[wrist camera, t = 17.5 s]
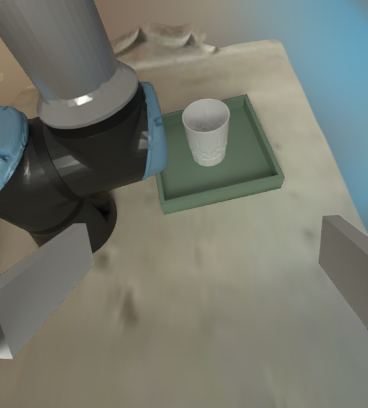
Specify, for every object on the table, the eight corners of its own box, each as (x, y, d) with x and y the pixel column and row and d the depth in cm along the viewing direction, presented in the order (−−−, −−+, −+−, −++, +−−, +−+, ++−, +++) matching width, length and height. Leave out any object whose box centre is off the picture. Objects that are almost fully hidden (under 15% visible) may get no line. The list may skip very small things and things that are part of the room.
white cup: (237, 152, 49) (240, 112, 41) (208, 176, 48) (204, 140, 39) (209, 132, 53) (206, 91, 44) (181, 154, 51) (172, 116, 42)
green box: (164, 214, 46) (160, 206, 43) (151, 130, 57) (147, 118, 54) (280, 188, 45) (284, 177, 42) (245, 107, 56) (246, 94, 53)
